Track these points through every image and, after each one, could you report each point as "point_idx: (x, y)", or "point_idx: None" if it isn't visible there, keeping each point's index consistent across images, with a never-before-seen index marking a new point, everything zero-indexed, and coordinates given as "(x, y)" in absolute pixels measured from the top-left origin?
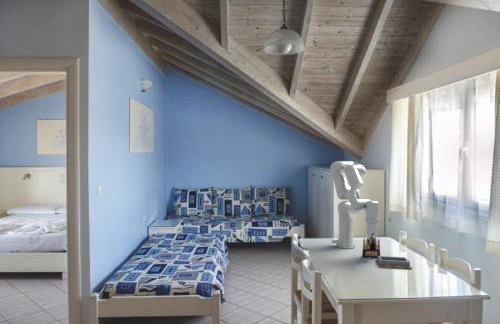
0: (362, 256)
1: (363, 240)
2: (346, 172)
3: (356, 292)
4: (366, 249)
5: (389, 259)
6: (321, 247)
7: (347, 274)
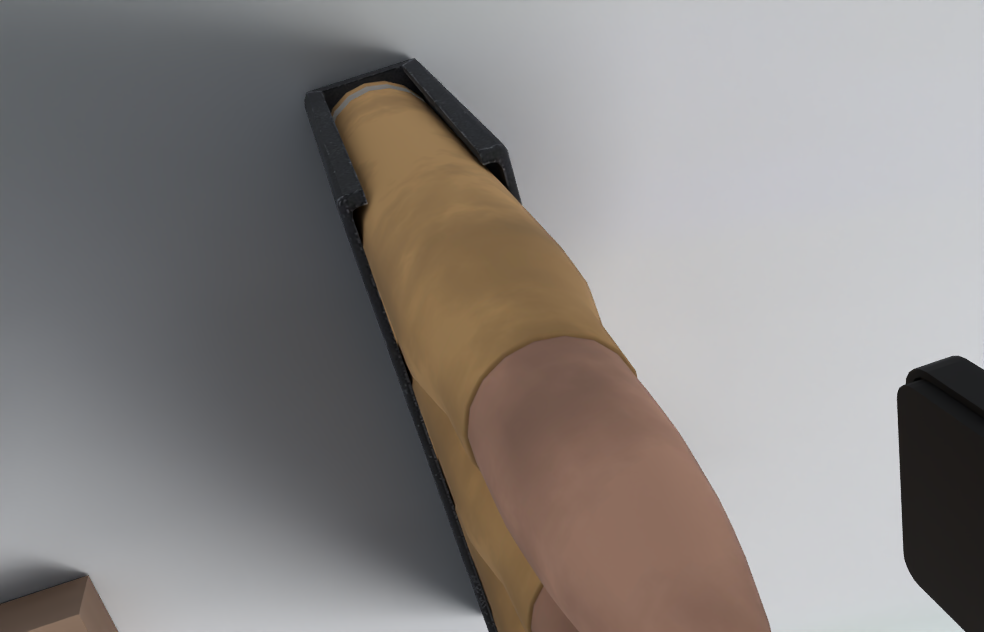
0: (346, 84)
1: (575, 469)
2: None
3: None
4: (395, 364)
5: None
6: None
7: None
